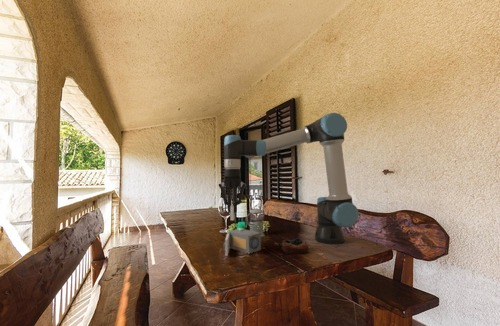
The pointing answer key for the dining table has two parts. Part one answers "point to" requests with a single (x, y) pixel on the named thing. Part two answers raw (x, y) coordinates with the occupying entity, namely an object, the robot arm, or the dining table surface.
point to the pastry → (294, 246)
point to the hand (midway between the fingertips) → (232, 219)
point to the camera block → (245, 240)
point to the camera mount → (241, 225)
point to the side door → (226, 244)
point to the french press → (256, 221)
